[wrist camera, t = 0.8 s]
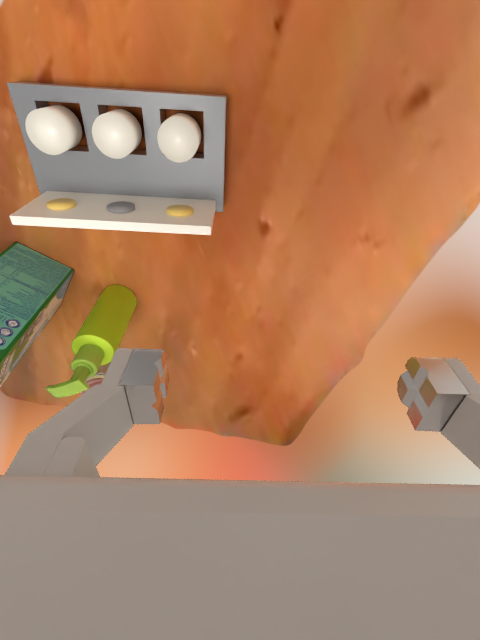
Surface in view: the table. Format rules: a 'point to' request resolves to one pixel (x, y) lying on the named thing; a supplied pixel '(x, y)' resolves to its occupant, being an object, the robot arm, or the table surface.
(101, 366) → the cupcake
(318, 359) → the table surface
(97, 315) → the soap dispenser
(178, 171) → the console
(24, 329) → the milk carton
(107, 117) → the button middle
